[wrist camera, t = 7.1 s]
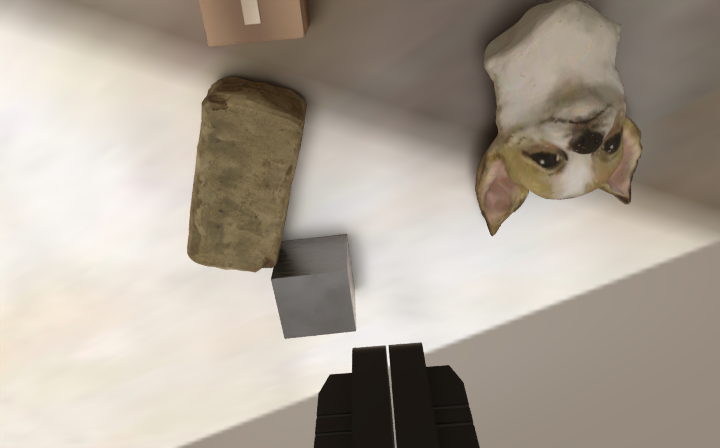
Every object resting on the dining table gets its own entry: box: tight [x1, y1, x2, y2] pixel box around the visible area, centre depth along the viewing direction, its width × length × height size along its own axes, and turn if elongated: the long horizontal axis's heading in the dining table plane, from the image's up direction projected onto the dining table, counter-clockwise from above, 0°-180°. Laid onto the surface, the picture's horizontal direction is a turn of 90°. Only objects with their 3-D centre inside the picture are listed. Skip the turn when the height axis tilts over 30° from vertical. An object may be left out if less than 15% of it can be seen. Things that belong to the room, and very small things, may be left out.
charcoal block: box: [271, 234, 356, 339], centre depth 37 cm, size 5×5×5 cm
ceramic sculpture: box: [475, 0, 642, 236], centre depth 31 cm, size 11×9×15 cm
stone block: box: [187, 77, 306, 272], centre depth 34 cm, size 6×12×5 cm, turn 167°
